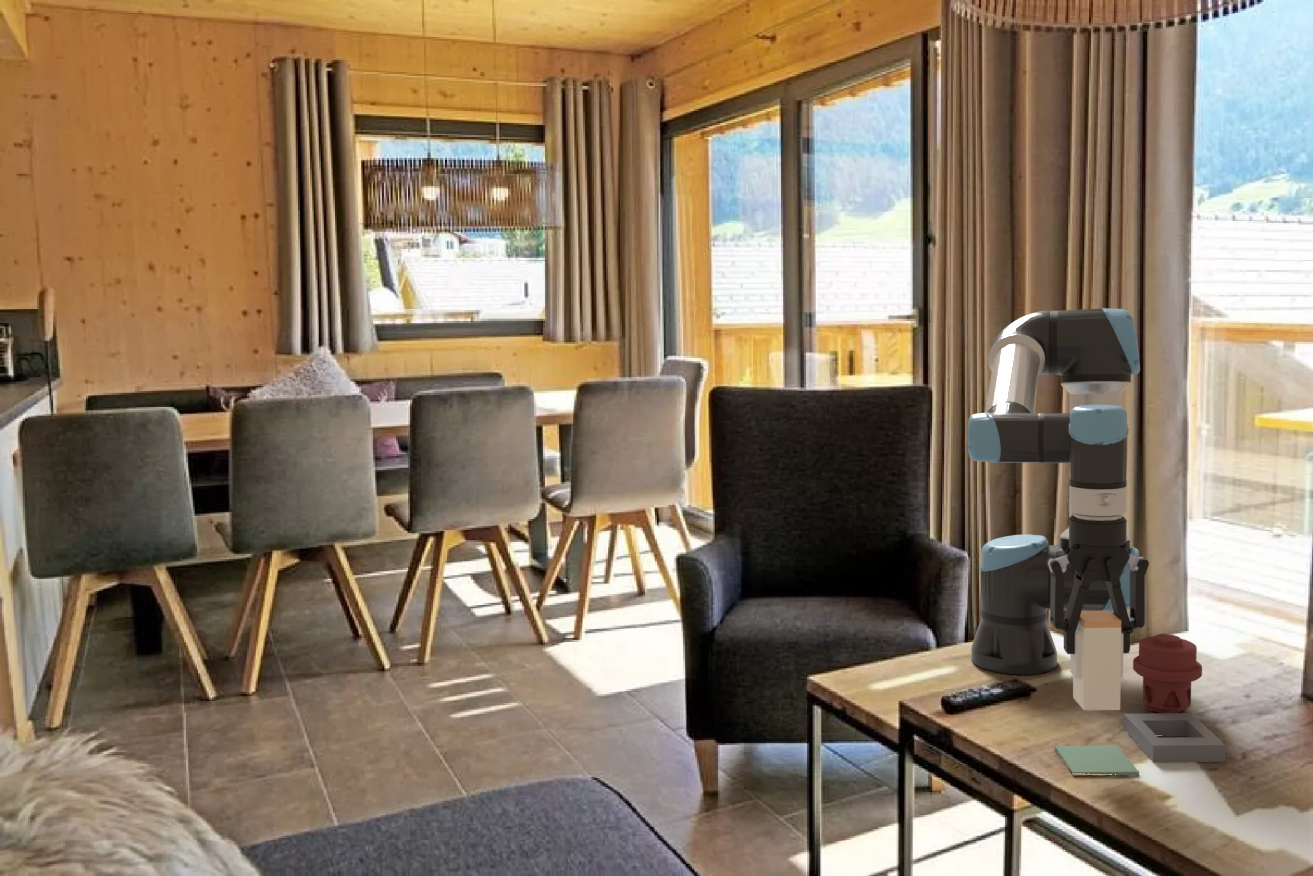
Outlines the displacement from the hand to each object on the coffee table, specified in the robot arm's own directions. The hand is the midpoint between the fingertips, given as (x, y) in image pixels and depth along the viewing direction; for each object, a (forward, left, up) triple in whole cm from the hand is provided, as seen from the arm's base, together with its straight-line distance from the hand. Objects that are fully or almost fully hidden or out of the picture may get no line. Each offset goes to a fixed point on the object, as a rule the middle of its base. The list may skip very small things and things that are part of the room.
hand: (1096, 674), depth 154 cm
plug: (0, 0, -4) cm, 4 cm away
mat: (0, 0, -13) cm, 13 cm away
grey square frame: (-6, +13, -13) cm, 20 cm away
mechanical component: (-19, +17, -13) cm, 29 cm away
